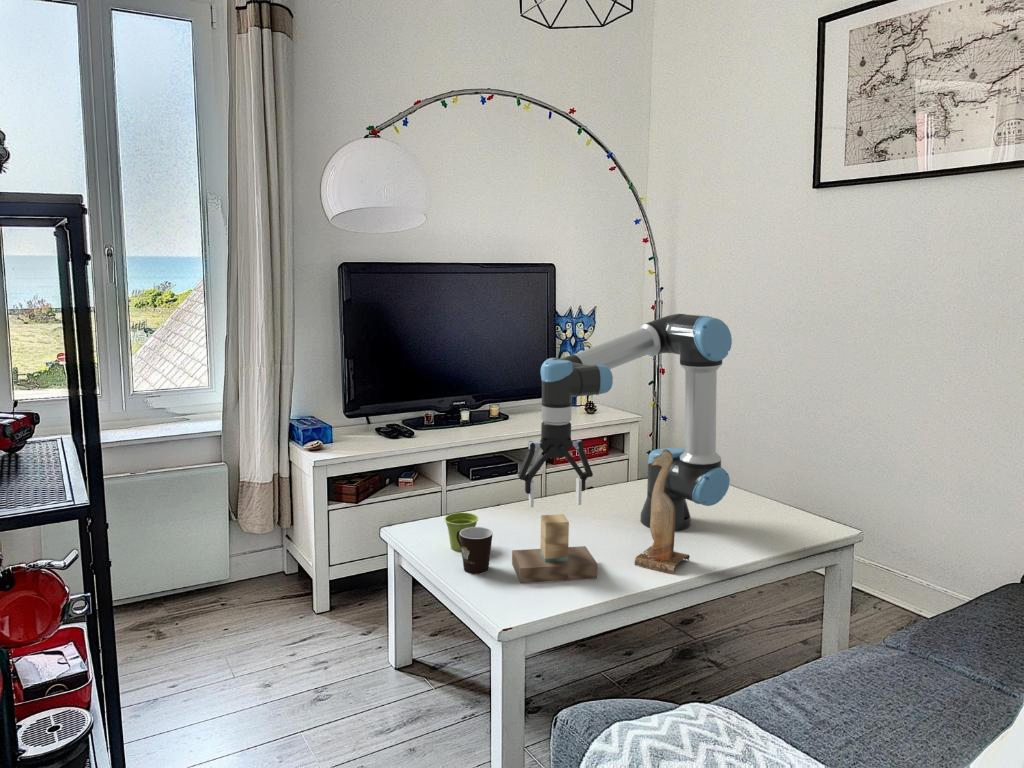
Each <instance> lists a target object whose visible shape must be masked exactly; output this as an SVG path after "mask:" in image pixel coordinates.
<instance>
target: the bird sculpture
mask: <svg viewBox="0 0 1024 768" xmlns="http://www.w3.org/2000/svg"><path fill="white" fill-rule="evenodd" d="M672 462H673V456H672V453H671V452H670V451H669V450H667V449H664V450H663V452H662V453H661V454H660V455H658V456H656V457H654V458H653V460H652V467H660V468H661V470H660V472H659V475H658V477H657V479H656V482H655V485H654V488H653V492H652V498H651V519H650V527H649V531H650V534H651V535H650V536H651V537H652V540H653V543H652V545H651V546H649V547H648V548H647V549H645V550H644V551H642V552H641V553H640V554H638V555H637V556H635V558H634V566H635V567H636V566H638V567H642V568H646V569H648V570H653V571H659V572H662V573H666V574H670V575H674V572H675V569H676V566H677V565H678V564H679V563H680V562H681V561H683V560H685V561H686V560H687V561H689V562H690V554H687V553H683V552H679V551H675V549H674V548H675V535H676V534H675V533H676V530H675V515H676V511H675V506H674V504H673V502H672V500H671V499H670V497H669V496H668V495H667V494H666V493H665V492H664V488H665V482H666V478H667V475H668V472H669V469H670V466H671V464H672Z"/></svg>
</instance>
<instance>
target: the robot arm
mask: <svg viewBox="0 0 1024 768" xmlns="http://www.w3.org/2000/svg"><path fill="white" fill-rule="evenodd" d="M732 338H733V337H732V333H731V331H730V328H729V327H728V325H727V324H726V323H725V322H724V321H723V320H721V319H719V318H717V317H712V316H709V315H699V314H698V315H697V314H696V315H695V314H686V313H675V314H674V313H673V314H669V315H666V316H663V317H659V318H657V319H654V320H652V321H648V322H646V323H644V324H642V325H640V326H639V327H638V329H637V330H635V331H632V332H629V333H627V334H625V335H621V336H619V337H617V338H613V339H612V340H608V341H606V342H603V343H600V344H598V345H595V346H592V347H590V348H586V349H584V350H582V351H579V352H576V353H573V354H571V355H567V356H564V357H562V358H559V357H550V358H547V359H546V360H544V362H543V363H542V364H541V367H540V377H541V421H542V422H541V425H540V426H541V428H540V433H541V434H540V435H541V436H540V441H537V442H536V441H533V440H529V441H528V447H527V452H526V454H525V457H524V459H523V461H522V464H521V466H520V468H519V471H518V474H517V477H518V479H519V480H520V481H524V491H525V493H526V495H528V505H529V507H530V508H534V504H535V482H534V480H533V478H534V477H535V476H536V474H538V471H540V469H541V468H542V466H543V465H544V464H545V462H547V461H548V459H551V460H553V459H556V458H557V459H564V458H566V460H567V461H568V462H569V464H570V465H571V467H572V468H573V470H574V471H575V472H576V473H577V475H578V477H576V478H575V502H576V504H577V505H578V506H579V505H580V506H582V492H585V491H586V481H587V480H588V478H592V477H593V476H594V473H593V470H592V469H591V466H590V463H589V461H588V458H587V456H586V452H585V451H584V442H583V441H582V440H581V439H579V438H578V439H577V440H572V423H571V421H572V406H573V405H572V404H573V403H572V402H573V398H575V397H576V398H577V397H585V396H586V397H587V396H600V395H603V394H607V393H608V392H610V390H611V389H612V387H613V383H614V382H613V379H614V377H613V376H614V375H613V373H612V370H611V369H614V368H616V367H620V366H621V365H622V366H623V365H624V364H627V363H630V362H633V361H635V360H638V359H640V358H642V357H645V356H647V355H648V356H649V357H654V356H658V355H659V354H673V355H675V354H676V355H679V364H680V365H679V366H681V367H682V368H683V369H684V370H685V374H684V376H685V378H684V379H685V381H684V385H685V387H684V393H685V395H684V410H685V411H684V416H685V417H684V420H685V421H684V448H680V447H663V448H657V449H653V450H651V452H650V453H649V455H648V462H647V489H646V491H647V492H646V493H647V494H646V495H647V496H646V499H645V502H644V503H643V507H642V510H641V512H640V519H639V520H640V523H641V524H642V525H643V526H646V527H648V528H650V519H651V498H652V492H653V488H654V485H655V482H656V479H657V477H658V475H659V472H660V470H661V468H660V467H652V460H653V458H654V457H656V456H658V455H660V454H661V453H662V452H663V450H664V449H667V450H669V451H670V452H671V453H672V456H673V462H672V464H671V466H670V469H669V472H668V475H667V478H666V482H665V488H664V492H665V493H666V494H667V495H668V496H669V497H670V499H671V500H672V502H673V504H674V506H675V511H676V515H675V531H681V530H686V529H687V528H689V527H690V526H691V521H692V520H691V519H692V518H691V514H690V510H689V506H688V504H687V503H688V502H687V500H688V501H691V502H693V503H695V504H697V505H702V506H706V507H710V506H711V507H712V506H714V505H716V504H718V503H719V502H720V501H722V500H723V498H724V497H725V496H726V494H727V492H728V490H729V487H730V480H731V479H730V475H729V473H728V472H727V471H726V470H725V469H724V468H722V457H721V455H720V454H718V452H717V451H716V450H717V449H716V447H717V445H716V444H717V441H716V440H717V383H718V382H717V380H718V379H717V377H718V375H717V374H718V372H717V371H718V369H720V367H722V365H723V360H724V359H725V358H727V357H728V356H729V352H730V351H731V350H732V349H731V348H732V343H733V340H732ZM572 447H574V449H575V450H576V451H577V454H578V456H579V459H580V461H581V463H582V466H583V469H584V472H583V470H582V469H581V468H580V466H579V465H578V463H577V462H576V461H575V460H574V457H573V456H572V455H571V454H570V450H571V449H572ZM539 448H540V449H541V453H539V456H538V458H537V459H536V460H535V462H534V463H533V465H532V466H531V463H532V461H533V458H534V456H535V453H536V451H538V449H539ZM530 466H531V467H530ZM529 467H530V469H529ZM528 469H529V470H528Z"/></svg>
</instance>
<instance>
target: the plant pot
mask: <svg viewBox="0 0 1024 768" xmlns="http://www.w3.org/2000/svg"><path fill="white" fill-rule="evenodd" d="M478 521H479V516H478V515H477V514H475V513H472V512H453V513H450V514H448V515H446V516H445V517H444V522H445V524H446V526H447V530H448V531H447V533H448V536H449V538H448V539H449V544H450V549H452V550H453V551H457V552H462V550H461V547H460V545H459V543H458V541H457V537H456V535H457V532H458V531H461V530H463V529H465V528H470V527H477V522H478ZM459 540H460V534H459Z"/></svg>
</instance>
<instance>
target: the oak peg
mask: <svg viewBox="0 0 1024 768" xmlns="http://www.w3.org/2000/svg"><path fill="white" fill-rule="evenodd" d="M569 531H570V522H569V520H568V518H567V517H566V515H565V514H564V513H562V514H561V513H560V514H542V515H540V549H541V550H540V554H541V555H542V557H543V559H544V561H545V562H556V561H568V547H569V539H570V538H569V537H570V535H569V533H570V532H569Z"/></svg>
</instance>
